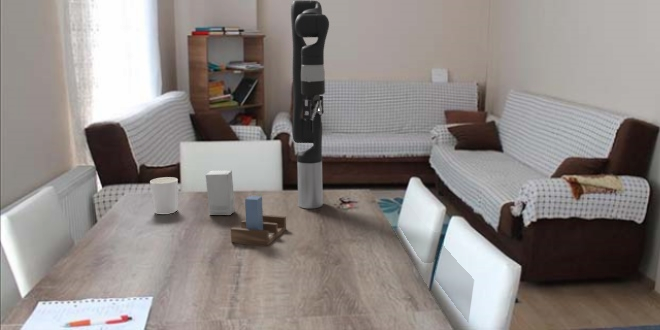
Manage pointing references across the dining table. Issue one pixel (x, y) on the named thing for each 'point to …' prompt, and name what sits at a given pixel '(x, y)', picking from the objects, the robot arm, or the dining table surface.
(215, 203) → the skincare box
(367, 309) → the dining table surface
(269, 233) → the rack
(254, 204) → the block
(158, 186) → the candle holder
